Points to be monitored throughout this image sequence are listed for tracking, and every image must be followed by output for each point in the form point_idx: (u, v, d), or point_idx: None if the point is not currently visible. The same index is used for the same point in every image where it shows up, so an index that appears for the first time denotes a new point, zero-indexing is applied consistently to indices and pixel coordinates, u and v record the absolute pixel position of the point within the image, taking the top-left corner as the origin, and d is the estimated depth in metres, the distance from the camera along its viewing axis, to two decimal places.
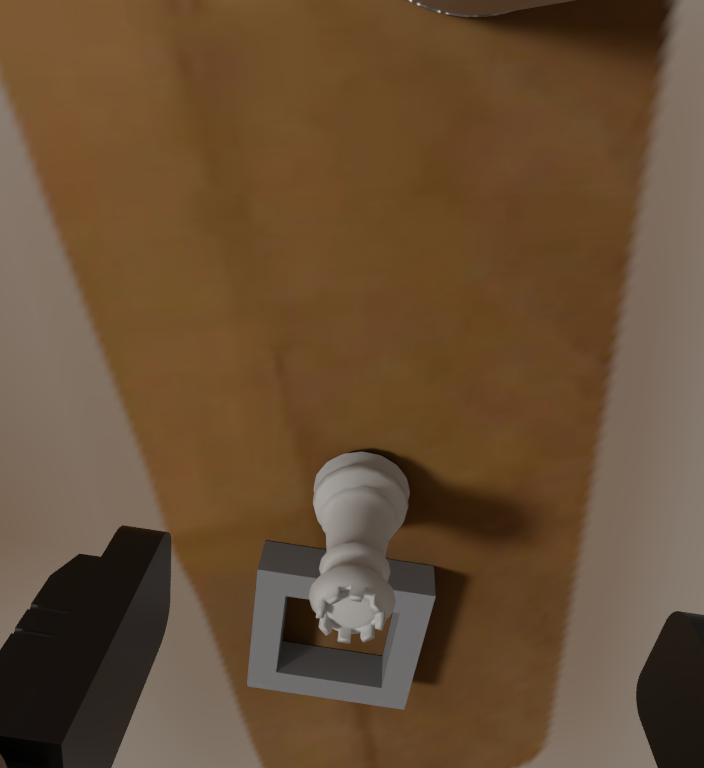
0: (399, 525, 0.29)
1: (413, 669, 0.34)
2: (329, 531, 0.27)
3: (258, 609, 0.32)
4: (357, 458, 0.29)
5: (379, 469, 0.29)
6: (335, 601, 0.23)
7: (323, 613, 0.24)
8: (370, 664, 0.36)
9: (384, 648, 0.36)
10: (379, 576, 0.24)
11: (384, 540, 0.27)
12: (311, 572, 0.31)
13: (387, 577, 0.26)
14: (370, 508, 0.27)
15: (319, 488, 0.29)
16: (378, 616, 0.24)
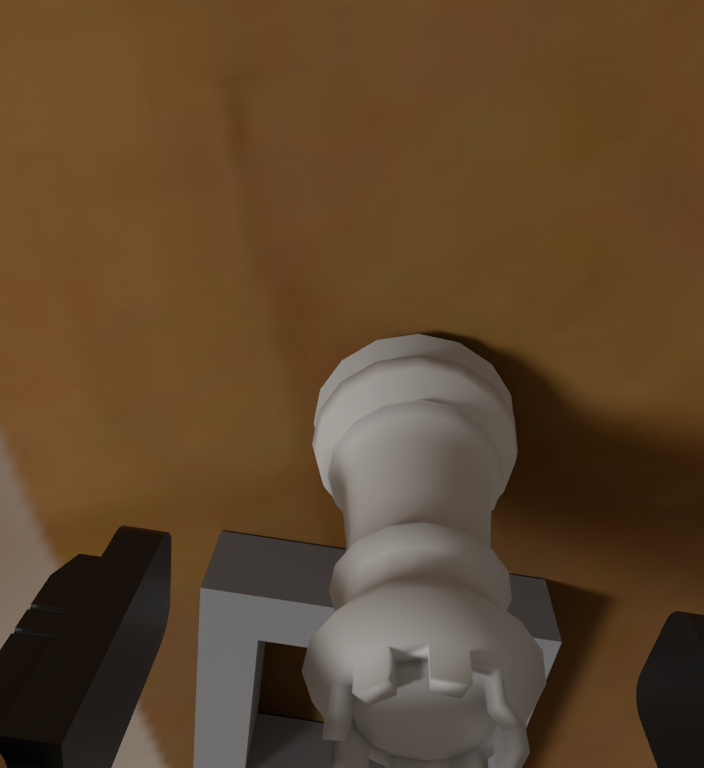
0: None
1: None
2: (352, 500, 0.11)
3: (205, 665, 0.16)
4: (408, 348, 0.14)
5: (460, 366, 0.13)
6: (383, 695, 0.08)
7: (345, 728, 0.08)
8: None
9: None
10: (507, 616, 0.08)
11: (486, 520, 0.11)
12: (309, 593, 0.16)
13: None
14: (447, 445, 0.12)
15: (327, 411, 0.13)
16: (506, 732, 0.08)
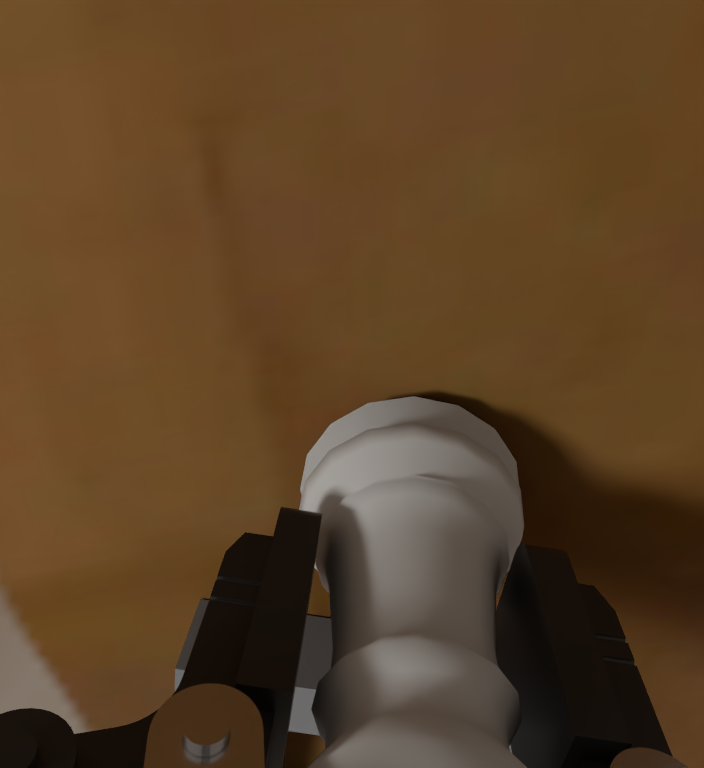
0: None
1: None
2: (339, 594, 0.10)
3: None
4: (403, 412, 0.12)
5: (460, 435, 0.12)
6: None
7: None
8: None
9: None
10: None
11: (491, 620, 0.10)
12: None
13: (512, 737, 0.09)
14: (446, 531, 0.10)
15: (313, 483, 0.12)
16: None
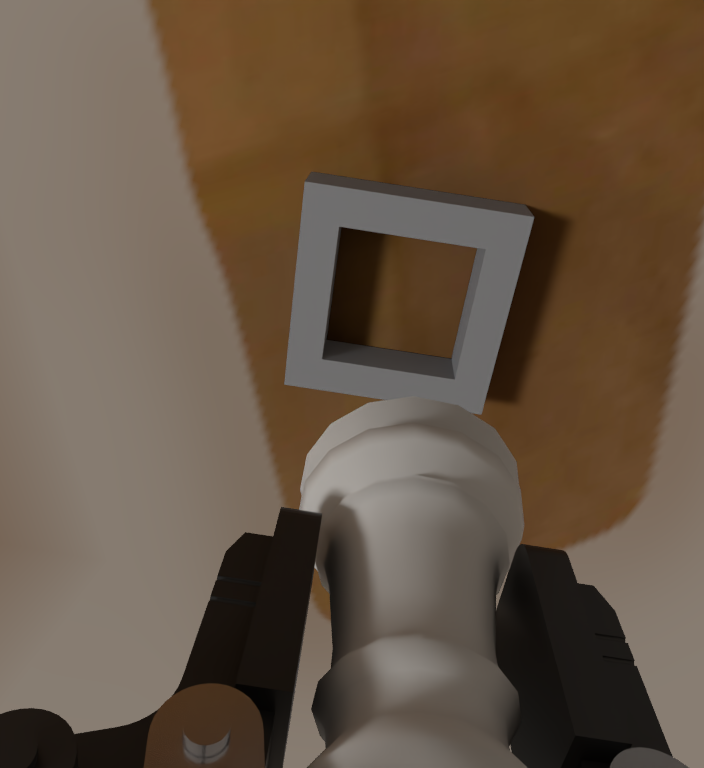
0: None
1: (497, 345, 0.27)
2: (339, 594, 0.10)
3: (302, 251, 0.25)
4: (403, 412, 0.12)
5: (460, 435, 0.12)
6: None
7: None
8: (437, 363, 0.29)
9: (454, 346, 0.29)
10: None
11: (491, 620, 0.10)
12: (373, 190, 0.24)
13: (511, 736, 0.09)
14: (446, 531, 0.10)
15: (313, 483, 0.12)
16: None
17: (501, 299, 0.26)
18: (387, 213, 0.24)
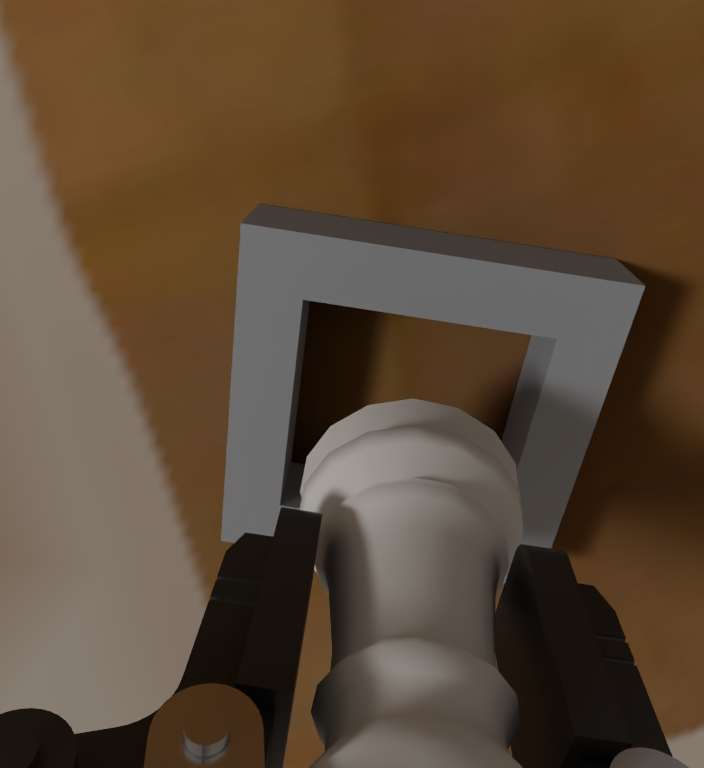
0: None
1: (568, 489, 0.16)
2: (339, 597, 0.10)
3: (242, 339, 0.15)
4: (403, 415, 0.12)
5: (460, 437, 0.12)
6: None
7: None
8: None
9: None
10: None
11: (490, 623, 0.10)
12: (361, 238, 0.14)
13: (511, 739, 0.09)
14: (445, 533, 0.10)
15: (313, 486, 0.12)
16: None
17: (579, 419, 0.15)
18: (386, 278, 0.14)
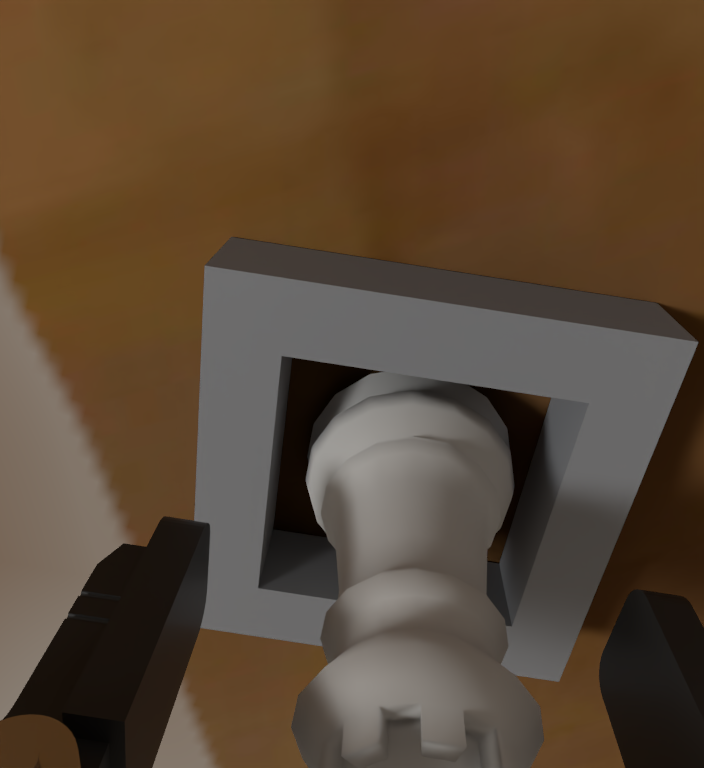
0: None
1: (598, 574, 0.14)
2: (344, 541, 0.11)
3: (209, 402, 0.12)
4: (402, 382, 0.13)
5: (454, 401, 0.13)
6: (373, 759, 0.07)
7: None
8: None
9: None
10: (502, 671, 0.08)
11: (482, 562, 0.11)
12: (352, 282, 0.11)
13: (500, 660, 0.10)
14: (441, 485, 0.11)
15: (319, 447, 0.13)
16: None
17: (613, 495, 0.13)
18: (382, 332, 0.11)
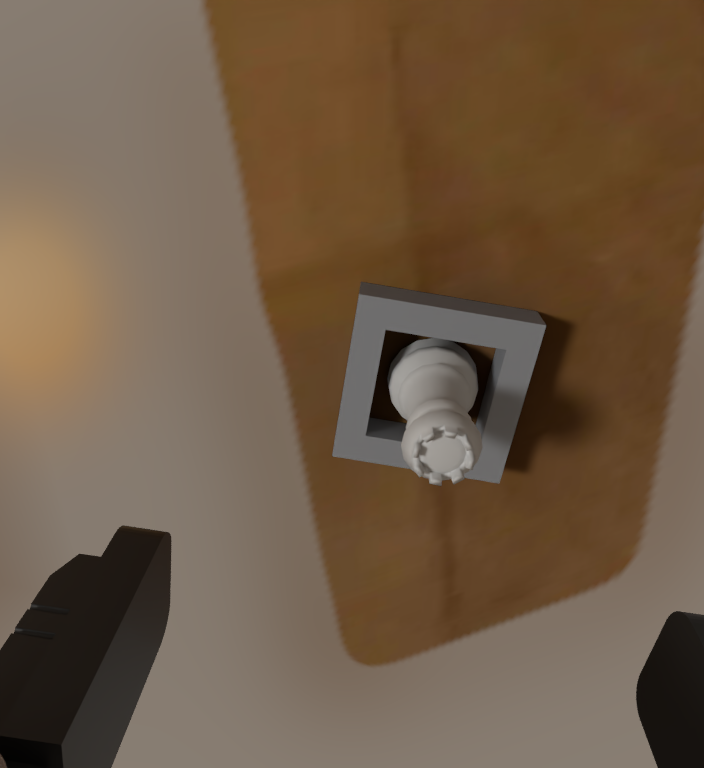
0: (470, 406, 0.31)
1: (514, 426, 0.32)
2: (411, 399, 0.29)
3: (354, 348, 0.30)
4: (431, 343, 0.32)
5: (453, 350, 0.31)
6: (431, 438, 0.25)
7: (418, 452, 0.26)
8: None
9: None
10: (469, 420, 0.26)
11: (463, 406, 0.29)
12: (414, 301, 0.30)
13: None
14: (448, 379, 0.29)
15: (396, 370, 0.31)
16: (468, 456, 0.26)
17: (518, 389, 0.31)
18: (425, 320, 0.30)
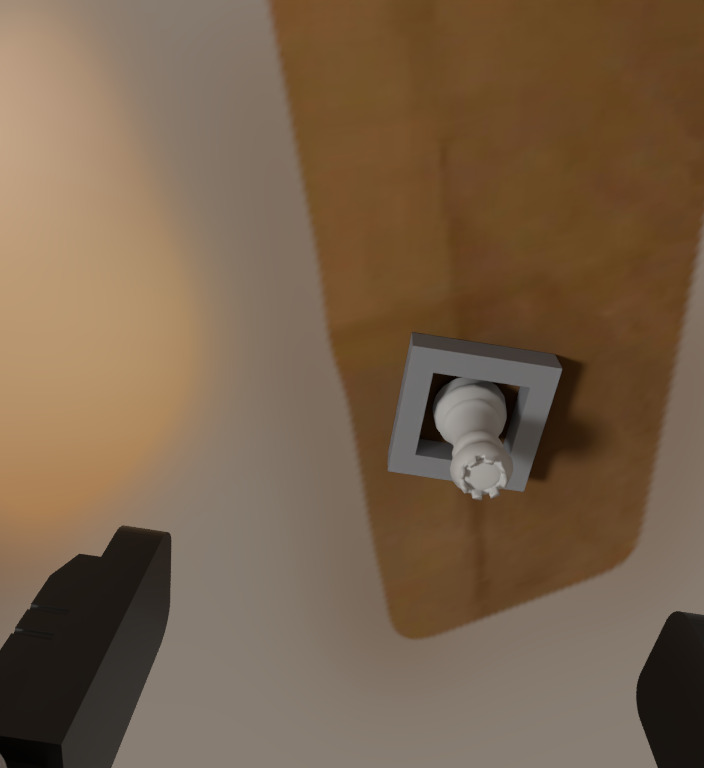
0: (500, 431, 0.39)
1: (536, 447, 0.39)
2: (455, 429, 0.37)
3: (407, 387, 0.38)
4: (468, 381, 0.39)
5: (487, 387, 0.38)
6: (474, 465, 0.33)
7: (464, 475, 0.33)
8: None
9: None
10: (503, 449, 0.34)
11: (497, 434, 0.36)
12: (456, 350, 0.37)
13: None
14: (484, 412, 0.37)
15: (441, 403, 0.39)
16: (503, 477, 0.33)
17: (539, 418, 0.38)
18: (465, 365, 0.37)
